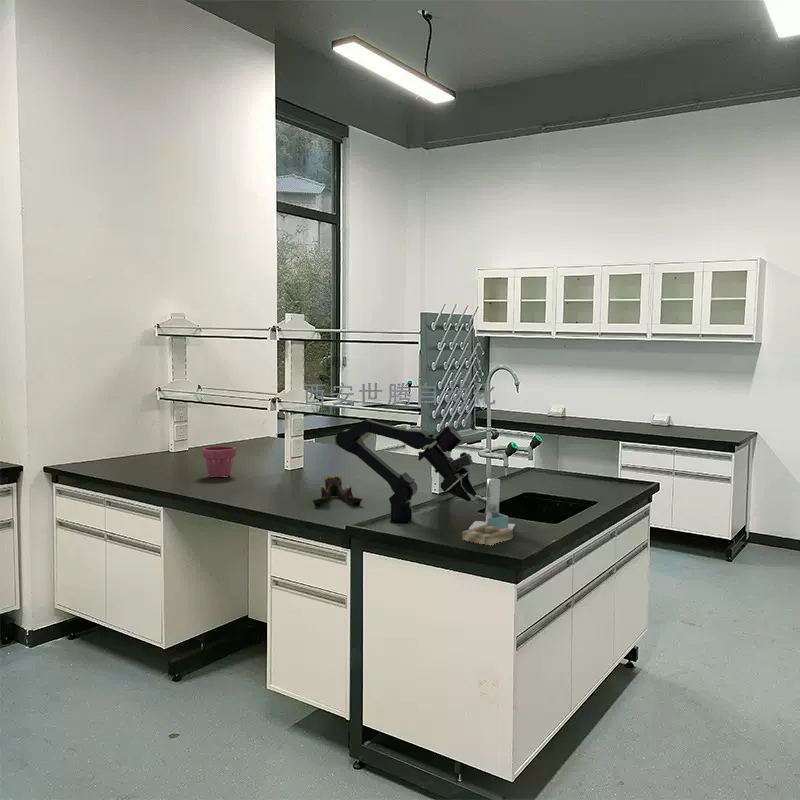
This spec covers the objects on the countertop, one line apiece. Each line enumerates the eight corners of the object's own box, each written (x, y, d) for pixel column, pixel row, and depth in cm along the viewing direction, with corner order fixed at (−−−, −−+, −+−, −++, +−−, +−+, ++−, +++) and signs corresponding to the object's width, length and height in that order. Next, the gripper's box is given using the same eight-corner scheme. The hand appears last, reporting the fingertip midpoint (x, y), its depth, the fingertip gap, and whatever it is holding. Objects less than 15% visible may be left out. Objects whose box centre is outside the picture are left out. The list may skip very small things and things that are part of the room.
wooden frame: (462, 540, 218) (462, 531, 217) (484, 532, 227) (485, 524, 227) (490, 546, 211) (490, 537, 211) (512, 538, 220) (512, 530, 220)
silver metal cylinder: (488, 527, 230) (490, 480, 229) (483, 524, 234) (485, 478, 233) (500, 527, 231) (502, 480, 230) (495, 524, 235) (497, 478, 234)
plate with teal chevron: (468, 530, 229) (468, 517, 229) (475, 522, 240) (475, 510, 239) (510, 533, 225) (510, 520, 225) (514, 525, 236) (515, 513, 236)
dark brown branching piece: (365, 502, 285) (370, 477, 283) (357, 520, 260) (362, 494, 259) (321, 492, 285) (326, 467, 284) (309, 510, 261) (315, 483, 260)
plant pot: (215, 473, 331) (215, 445, 330) (242, 475, 326) (242, 446, 325) (196, 478, 318) (195, 448, 317) (223, 480, 313) (223, 450, 312)
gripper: (451, 448, 225) (486, 486, 223) (463, 441, 243) (496, 476, 241) (426, 472, 228) (460, 510, 226) (440, 463, 246) (471, 498, 243)
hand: (473, 497), depth 234 cm, fingers open, 9 cm apart
